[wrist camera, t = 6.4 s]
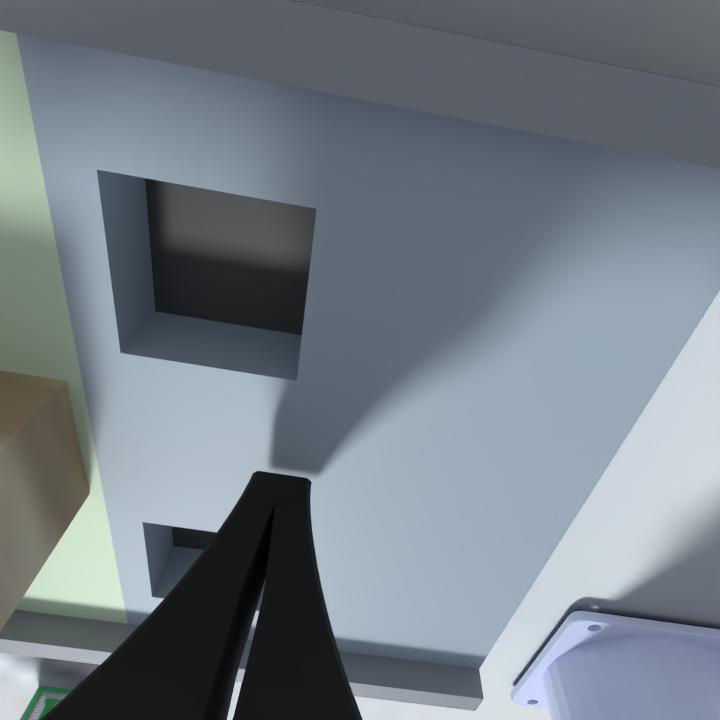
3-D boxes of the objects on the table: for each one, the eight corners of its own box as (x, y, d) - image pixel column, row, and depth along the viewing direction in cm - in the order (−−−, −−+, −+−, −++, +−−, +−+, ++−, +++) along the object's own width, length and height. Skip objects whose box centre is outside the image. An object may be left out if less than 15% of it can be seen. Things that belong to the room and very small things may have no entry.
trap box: (738, 95, 10) (996, 138, 6) (462, 616, 21) (481, 761, 17) (-251, -104, 9) (-819, -230, 5) (8, 556, 20) (-93, 694, 16)
